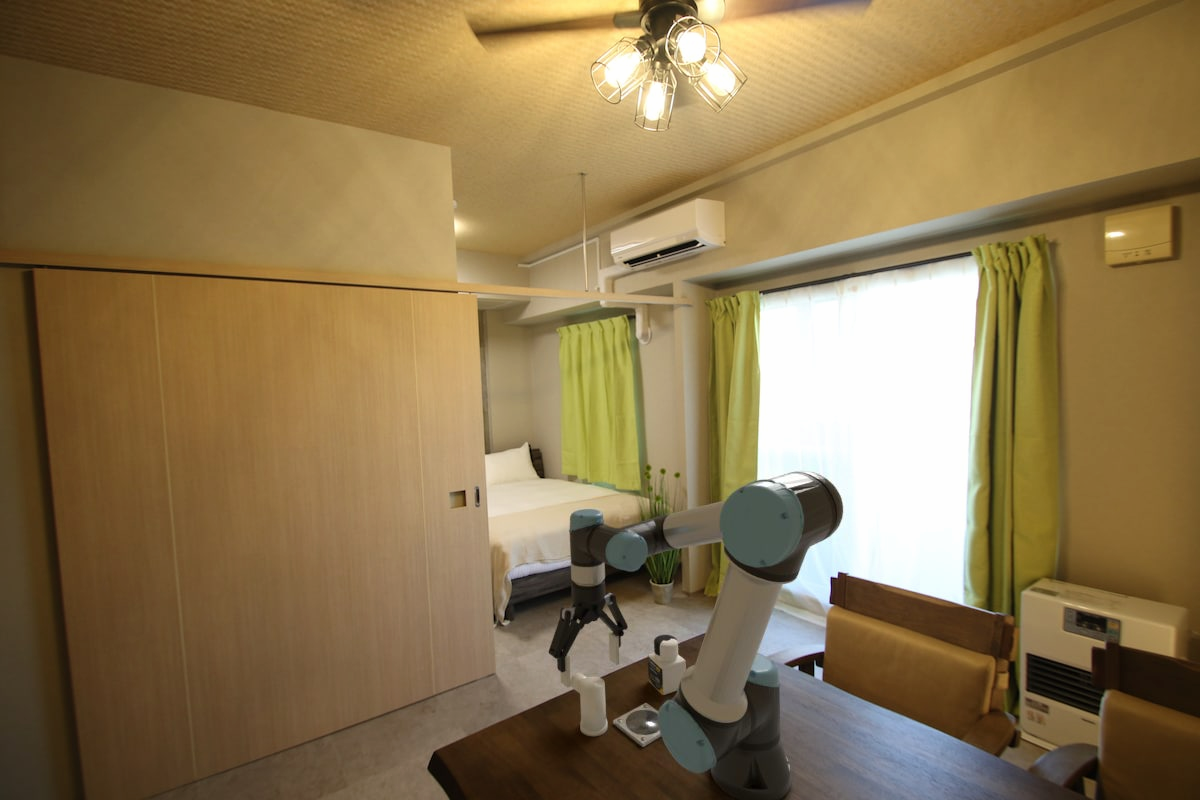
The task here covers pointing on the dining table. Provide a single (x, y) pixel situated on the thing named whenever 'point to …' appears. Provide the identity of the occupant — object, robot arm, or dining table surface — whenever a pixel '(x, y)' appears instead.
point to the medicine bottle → (665, 665)
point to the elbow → (591, 704)
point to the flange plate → (640, 724)
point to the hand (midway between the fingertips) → (590, 672)
